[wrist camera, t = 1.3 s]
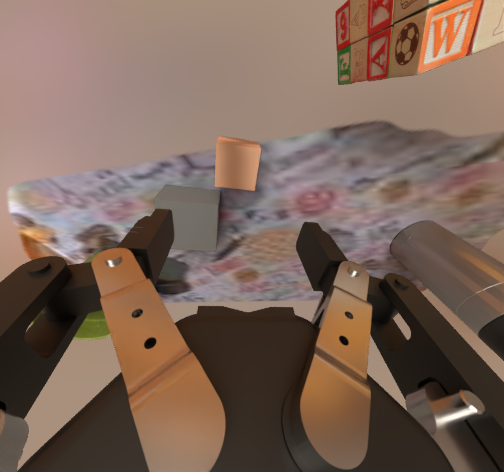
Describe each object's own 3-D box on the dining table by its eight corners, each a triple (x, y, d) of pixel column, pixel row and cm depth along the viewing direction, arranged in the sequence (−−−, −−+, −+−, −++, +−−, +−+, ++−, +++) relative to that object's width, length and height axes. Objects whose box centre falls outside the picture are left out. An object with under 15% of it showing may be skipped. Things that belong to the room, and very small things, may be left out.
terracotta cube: (256, 141, 25) (261, 148, 21) (251, 178, 28) (254, 190, 24) (219, 135, 24) (216, 142, 20) (217, 173, 27) (214, 186, 23)
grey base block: (220, 190, 29) (218, 205, 25) (218, 233, 33) (215, 251, 29) (165, 184, 27) (153, 199, 23) (170, 229, 32) (161, 248, 28)
